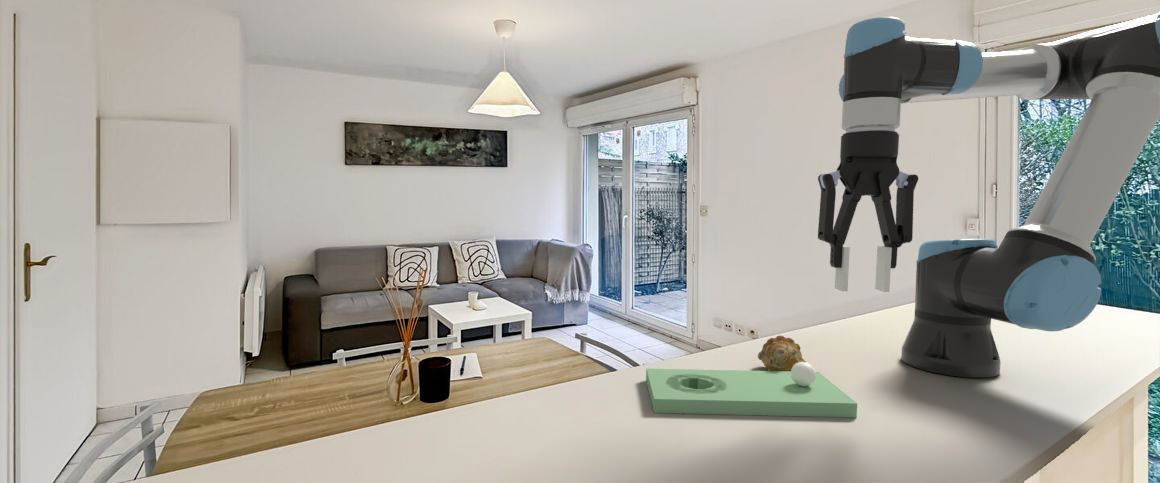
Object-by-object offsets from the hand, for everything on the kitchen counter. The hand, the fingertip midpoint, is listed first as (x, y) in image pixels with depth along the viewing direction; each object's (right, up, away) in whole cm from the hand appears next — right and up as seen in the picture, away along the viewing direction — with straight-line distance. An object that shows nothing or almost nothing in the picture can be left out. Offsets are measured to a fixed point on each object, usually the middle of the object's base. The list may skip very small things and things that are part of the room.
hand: (861, 289), depth 85 cm
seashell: (-6, -16, +15) cm, 23 cm away
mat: (-17, -17, +2) cm, 24 cm away
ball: (-8, -13, +1) cm, 15 cm away
